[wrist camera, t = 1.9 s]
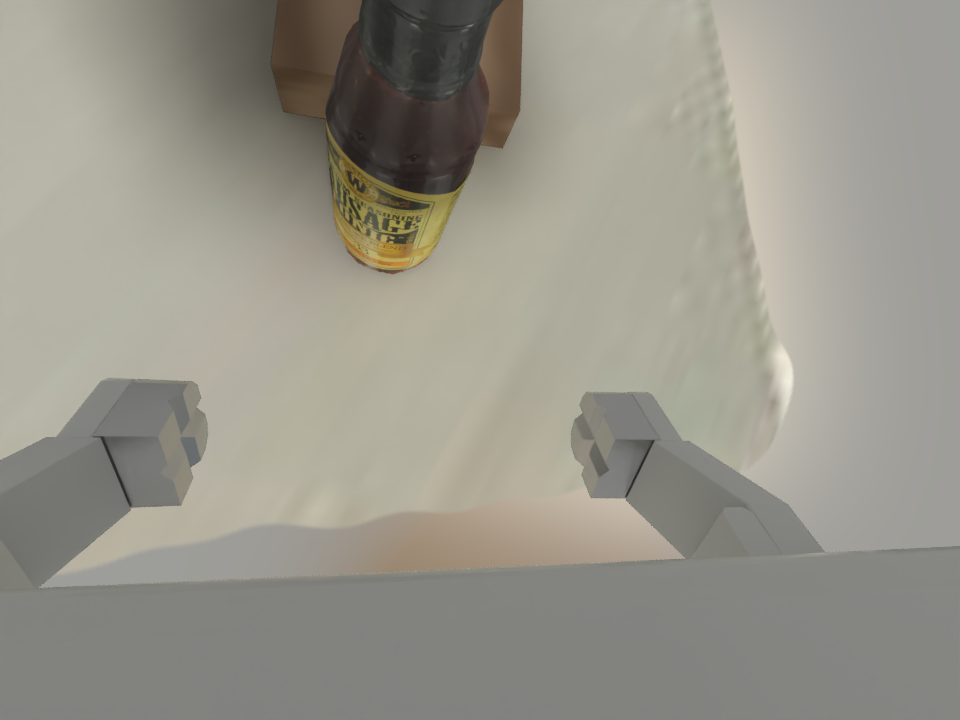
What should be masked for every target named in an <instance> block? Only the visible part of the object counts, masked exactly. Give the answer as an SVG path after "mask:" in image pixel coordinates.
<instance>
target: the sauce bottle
mask: <svg viewBox="0 0 960 720" xmlns="http://www.w3.org/2000/svg"><path fill="white" fill-rule="evenodd" d="M502 2H503V0H362V4H361V7H360V13H359V20H358V21H357V22H356V23H354V24H353V25H352V28H351V29H350V30H349V32H348V34H347V35H346V38H345V42H344V45H343V49H342V52H341V56H340V59H339V62H338V66H337V69H336V73H335V76H334V80H333V83H332V87H331V90H330V94H329V97H328V101H327V104H326V110H325V117H326V132H327V141H328V156H329V163H330V168H329V169H330V179H331V186H332V196H333V207H334V220H335V224H336V228H337V231H338V234H339V236H340V238H341V240H342V242H343V243H344V245H345V247H346V249H347V251H348V253H349V254H350V255H351V256H353V257H354V259H355V260H356V261H357V262H358V263H360V264H362V265H363V266H366V267H368V268H370V269H373V270H376V271H379V272H385V273H390V274H395V273H398V272H403V271H405V270H409V269H411V268H413V267H415V266H417V265H419V264H420V263H422V262H423V261H424V260H426V258H427V257H428V256H429V255H430V254H431V253H432V251H433V250H434V249H435V247H436V245H437V243H438V241H439V239H440V237H441V235H442V233H443V231H444V228H445V226H446V224H447V221H448V219H449V217H450V214H451V212H452V210H453V208H454V206H455V204H456V201H457V199H458V197H459V195H460V193H461V191H462V189H463V186H464V184H465V182H466V180H467V178H468V176H469V174H470V171H471V168H472V166H473V163H474V157H475V154H476V152H477V150H478V149H479V146H480V145H481V143H482V142H483V138H484V134H485V130H486V127H487V123H488V114H489V89H488V85H487V82H486V78H485V76H484V73H483V71H482V69H481V66H480V64H479V62H480V60H481V56H482V52H483V43H484V40H485V36H486V33H487V30H488V27H489V24H490V20H491V17H492V15H493V12H494V10H495V9H496V8H497V7H498V6H499V5H500V4H501V3H502Z"/></svg>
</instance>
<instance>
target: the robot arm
mask: <svg viewBox="0 0 960 720" xmlns="http://www.w3.org/2000/svg"><path fill="white" fill-rule="evenodd" d="M200 399H201V395H200V392H199V389H198V385H197V384H196V383H194V382H193V381H172V380H150V379H137V380H136V379H119V378H108V379H105V380H103V381H101V382H100V383H99V384H98V385H97V387H96V388H95V389H94V390H93V392H92V393H91V394H90V395H89V397H88V398H87V399H86V400H85V402H84V403H83V404H82V405H81V407H80V408H79V409H78V410H77V412H76V413H75V414H74V415H73V417H72V418H71V419H70V420H69V422H68V423H67V424H66V425H65V427H64V428H63V429H62V430H61V432H60V433H59V434H58V435H57V437H46V438H44V439H42V440H40V441H38V442H36V443H34V444H32V445H30V446H28V447H26V448H24V449H22V450H20V451H18V452H16V453H14V454H12V455H10V456H8V457H6V458H4V459H2V460H0V720H960V546H952V547H931V548H911V549H890V550H869V551H847V552H824V550H823V549H822V548H821V546H820V545H819V544H818V542H817V541H816V540H815V539H814V537H813V536H812V535H811V534H810V532H809V531H808V530H807V529H806V527H805V526H804V524H803V523H802V522H801V521H800V519H799V518H798V517H797V515H796V514H795V513H794V512H793V510H792V509H791V508H790V506H789V505H788V504H786V503H785V502H783V501H782V500H780V499H779V498H777V497H775V496H774V495H772V494H771V493H769V492H768V491H766V490H764V489H763V488H761V487H760V486H758V485H757V484H755V483H754V482H752V481H750V480H749V479H747V478H746V477H744V476H743V475H741V474H740V473H738V472H736V471H735V470H733V469H732V468H730V467H729V466H727V465H726V464H724V463H722V462H721V461H719V460H718V459H716V458H715V457H713V456H712V455H710V454H708V453H707V452H705V451H704V450H702V449H701V448H699V447H698V446H696V445H694V444H693V443H691V442H690V441H682V439H681V438H680V436H679V435H678V433H677V432H676V430H675V429H674V427H673V425H672V424H671V422H670V421H669V419H668V418H667V416H666V415H665V413H664V412H663V410H662V409H661V407H660V406H659V404H658V403H657V401H656V400H655V398H654V397H653V395H652V394H650V393H648V392H627V393H619V392H586V393H585V394H584V395H583V397H582V400H581V402H580V408H581V410H582V412H583V413H582V414H581V415H580V416H579V417H577V418H576V419H575V420H574V423H573V427H572V430H571V446H572V451H573V454H574V457H575V459H576V460H577V461H578V462H579V463H581V464H582V465H583V466H584V469H583V472H582V474H581V475H582V477H583V480H584V482H585V485H586V488H587V490H588V492H589V495H590V497H591V498H626V501H627V502H628V503H629V504H631V506H632V507H634V509H636V510H637V511H638V512H639V513H640V514H641V515H642V516H643V517H644V518H645V519H646V520H647V521H648V522H649V523H650V524H651V525H652V526H653V527H654V528H655V529H656V530H657V531H658V532H659V533H660V534H661V535H662V536H663V537H664V538H665V539H666V540H667V541H668V542H669V543H670V544H671V545H673V547H675V549H677V550H678V551H679V552H680V553H681V554H682V555H683V556H684V557H685V558H686V559H669V560H648V561H624V562H604V563H603V562H602V563H581V564H558V565H537V566H516V567H493V568H471V569H452V570H451V569H449V570H429V571H405V572H382V573H360V574H339V575H318V576H317V575H316V576H294V577H273V578H250V579H230V580H229V579H228V580H207V581H184V582H162V583H140V584H119V585H96V586H74V587H53V588H39V587H40V586H41V585H42V584H44V583H45V582H46V581H47V580H48V579H50V578H51V577H52V576H53V575H54V574H55V573H57V572H58V571H59V570H60V569H61V568H63V567H64V566H65V565H66V564H67V563H69V562H70V561H71V560H72V559H73V558H75V557H76V556H77V555H78V554H79V553H80V552H82V551H83V550H84V549H85V548H86V547H88V546H89V545H90V544H91V543H92V542H94V541H95V540H96V539H97V538H98V537H100V536H101V535H102V534H103V533H104V532H105V531H107V530H108V529H109V528H110V527H111V526H113V525H114V524H115V523H116V522H117V521H119V520H120V519H121V518H122V517H123V516H125V515H126V514H127V513H128V512H129V511H130V510H131V508H134V507H158V506H181V504H182V502H183V500H184V498H185V495H186V493H187V491H188V489H189V486H190V484H191V482H192V480H193V475H192V472H191V467H192V466H194V465H195V464H196V463H198V462H199V461H201V459H202V456H203V454H204V451H205V449H206V443H207V437H208V426H207V420H206V415H205V414H204V413H203V412H202V411H200V410H199V409H198V408H197V405H198V403H199V401H200Z"/></svg>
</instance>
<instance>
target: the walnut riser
mask: <svg viewBox="0 0 960 720" xmlns="http://www.w3.org/2000/svg"><path fill="white" fill-rule="evenodd" d="M361 4H362V0H278V5H277V14H276V22H275V31H274V39H273V48H272V56H271V67H272V71H273V75H274V78H275V82H276V86H277V90H278V93H279V97H280V101H281V104H282V108H283V112H289V113H295V114H301V115H307V116H313V117H319V118H325V119H326V117H325V110H326V104H327V101H328V97H329V94H330V90H331V87H332V83H333V80H334V76H335V73H336V69H337V66H338V62H339V59H340V56H341V52H342V49H343V45H344V42H345V38H346V35H347V34H348V32H349V30H350V29H351V28H352V25H353V24H354V23H356V22H357V21H358V20H359V13H360V7H361ZM522 18H523V0H503V2H502V3H501V4H500V5H499V6H498V7H497V8H496V9H495V10H494V12H493V15H492V17H491V20H490V24H489V27H488V30H487V33H486V36H485V40H484V43H483V52H482V56H481V60H480V62H479V64H480V66H481V69H482V71H483V73H484V76H485V78H486V82H487V85H488V89H489V114H488V123H487V127H486V130H485V134H484V138H483V142H482V143H481V145H486V146H492V147H498V148H503V146H504V144H505V142H506V140H507V138H508V135H509V133H510V131H511V129H512V127H513V125H514V122H515V120H516V118H517V116H518V114H519V112H520V96H521V57H522Z"/></svg>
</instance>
